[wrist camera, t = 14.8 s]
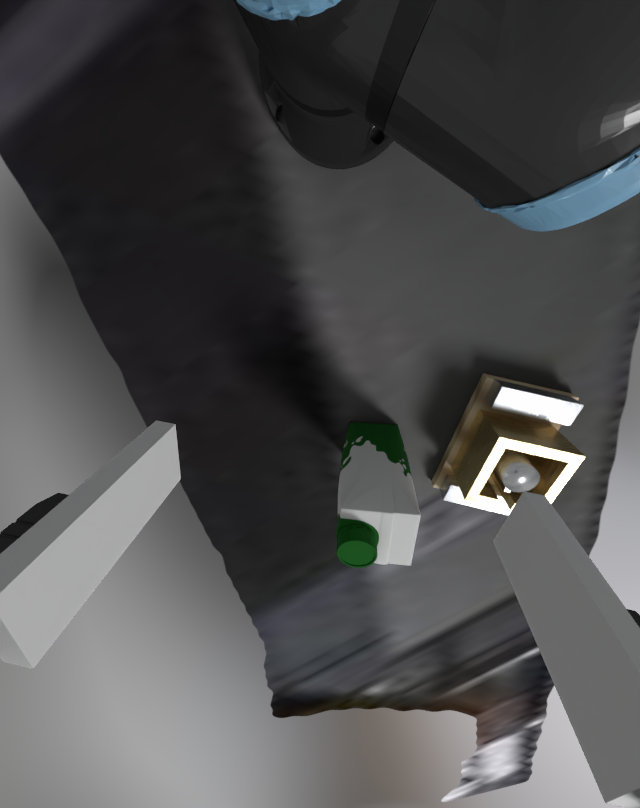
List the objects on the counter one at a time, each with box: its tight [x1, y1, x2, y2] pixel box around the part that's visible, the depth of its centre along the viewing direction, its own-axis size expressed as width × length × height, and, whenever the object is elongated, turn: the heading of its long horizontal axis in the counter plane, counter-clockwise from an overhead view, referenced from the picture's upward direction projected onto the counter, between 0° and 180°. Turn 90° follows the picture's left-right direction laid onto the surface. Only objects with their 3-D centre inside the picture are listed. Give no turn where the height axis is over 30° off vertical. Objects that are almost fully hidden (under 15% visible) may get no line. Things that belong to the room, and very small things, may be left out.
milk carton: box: [336, 422, 421, 568], centre depth 39 cm, size 9×9×20 cm
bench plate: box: [432, 373, 579, 489], centre depth 45 cm, size 19×12×2 cm, turn 169°
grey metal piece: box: [440, 379, 584, 515], centre depth 41 cm, size 19×10×7 cm, turn 169°
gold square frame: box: [451, 409, 586, 511], centre depth 41 cm, size 10×10×7 cm
